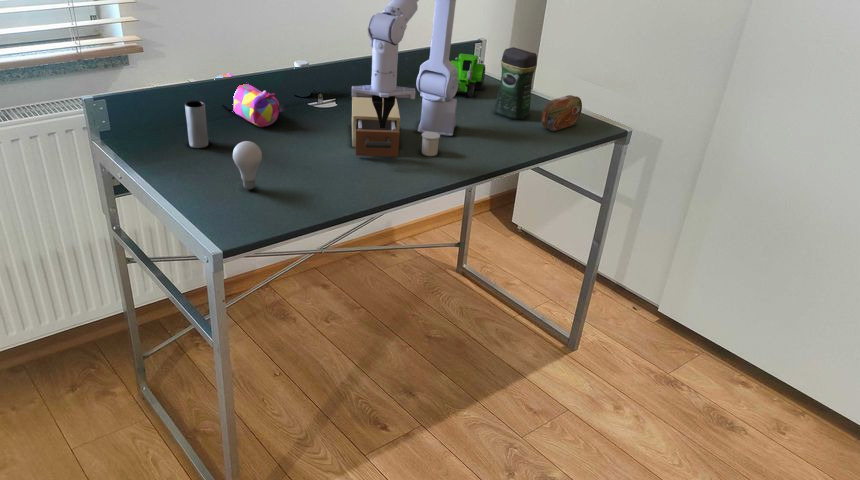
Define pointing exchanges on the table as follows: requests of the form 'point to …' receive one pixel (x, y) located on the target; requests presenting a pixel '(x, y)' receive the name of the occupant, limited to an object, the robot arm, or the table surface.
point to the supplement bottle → (301, 63)
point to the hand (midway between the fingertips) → (382, 126)
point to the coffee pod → (430, 143)
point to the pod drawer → (376, 139)
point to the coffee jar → (516, 83)
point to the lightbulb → (247, 162)
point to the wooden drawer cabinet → (369, 114)
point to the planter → (196, 124)
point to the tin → (561, 112)
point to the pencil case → (255, 104)
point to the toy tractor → (469, 73)
